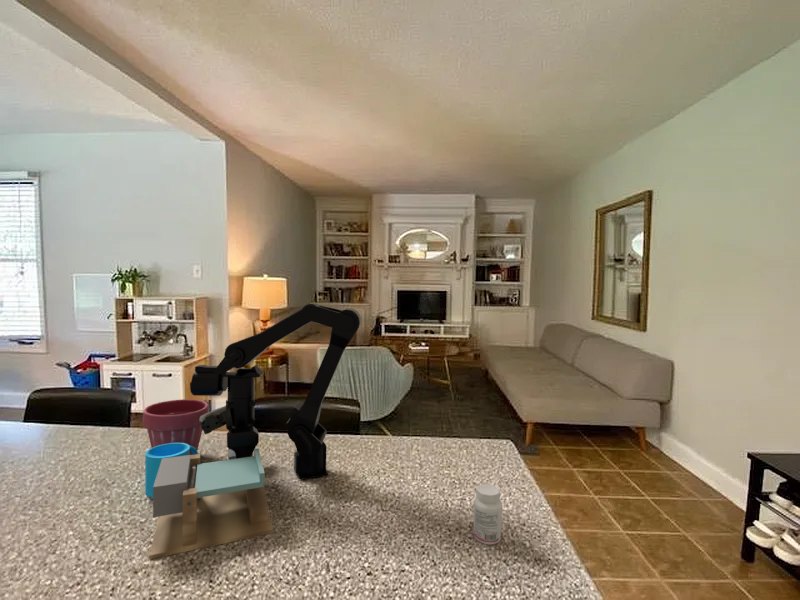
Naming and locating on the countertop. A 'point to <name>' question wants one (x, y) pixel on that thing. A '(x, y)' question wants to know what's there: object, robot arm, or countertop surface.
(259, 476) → the trapdoor
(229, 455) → the gray cube
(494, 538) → the pill bottle
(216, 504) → the frame
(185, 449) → the mug
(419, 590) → the countertop surface
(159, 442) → the plant pot
